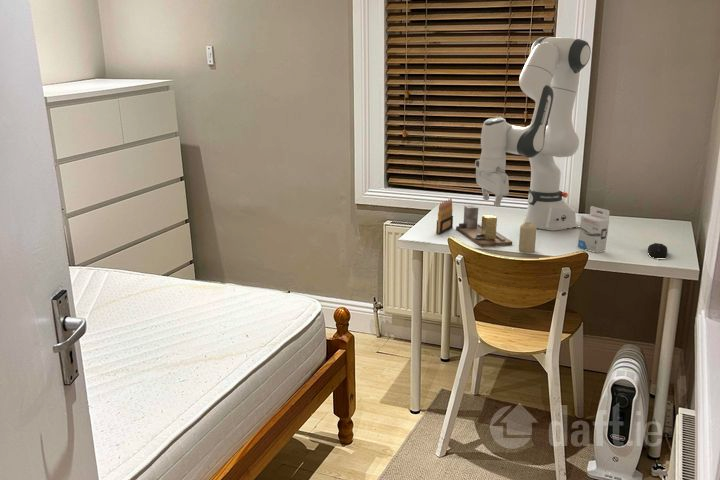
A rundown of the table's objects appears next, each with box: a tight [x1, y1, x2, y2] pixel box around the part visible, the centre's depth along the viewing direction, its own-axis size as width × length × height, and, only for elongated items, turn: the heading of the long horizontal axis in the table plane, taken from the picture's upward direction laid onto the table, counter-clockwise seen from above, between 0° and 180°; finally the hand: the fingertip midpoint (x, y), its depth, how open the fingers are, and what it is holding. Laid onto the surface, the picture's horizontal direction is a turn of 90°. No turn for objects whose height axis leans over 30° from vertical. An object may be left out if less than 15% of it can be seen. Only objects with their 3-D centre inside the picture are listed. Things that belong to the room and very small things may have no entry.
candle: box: [518, 222, 538, 253], centre depth 239 cm, size 6×6×10 cm
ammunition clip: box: [435, 198, 454, 235], centre depth 262 cm, size 11×2×12 cm, turn 147°
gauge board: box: [455, 205, 513, 248], centre depth 255 cm, size 12×24×9 cm, turn 14°
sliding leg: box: [476, 214, 498, 240], centre depth 248 cm, size 6×4×8 cm, turn 104°
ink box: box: [577, 205, 610, 254], centre depth 240 cm, size 9×5×15 cm, turn 33°
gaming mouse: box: [647, 242, 669, 259], centre depth 236 cm, size 6×15×4 cm, turn 158°
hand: (491, 202), depth 246 cm, fingers open, 8 cm apart
